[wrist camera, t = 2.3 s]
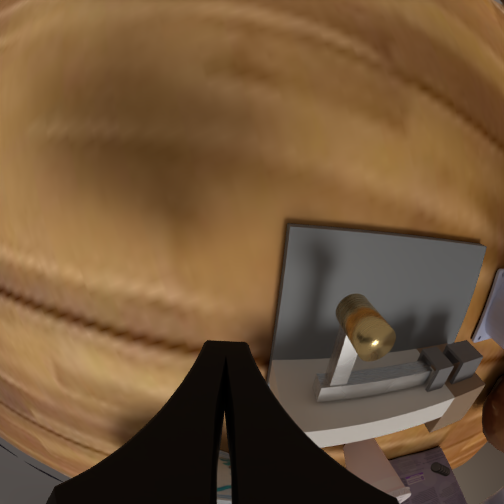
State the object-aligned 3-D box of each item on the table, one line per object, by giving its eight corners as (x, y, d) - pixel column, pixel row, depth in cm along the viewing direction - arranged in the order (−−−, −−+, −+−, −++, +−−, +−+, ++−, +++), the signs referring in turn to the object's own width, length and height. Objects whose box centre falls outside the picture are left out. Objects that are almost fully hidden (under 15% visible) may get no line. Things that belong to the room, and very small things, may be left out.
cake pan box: (337, 479, 27) (362, 572, 11) (354, 464, 26) (387, 565, 9) (423, 460, 30) (455, 526, 13) (440, 444, 28) (477, 512, 12)
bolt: (451, 290, 13) (482, 314, 10) (417, 372, 15) (437, 401, 12) (337, 292, 12) (362, 327, 10) (312, 387, 14) (324, 427, 12)
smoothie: (330, 440, 23) (361, 549, 9) (385, 420, 22) (432, 519, 9) (333, 461, 25) (358, 551, 11) (381, 444, 24) (417, 528, 11)
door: (480, 243, 17) (539, 274, 10) (433, 370, 21) (468, 415, 14) (287, 223, 15) (325, 269, 9) (264, 390, 19) (275, 465, 13)
